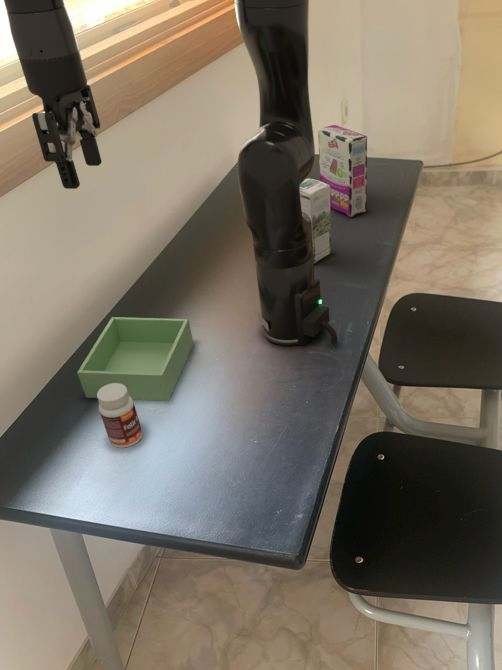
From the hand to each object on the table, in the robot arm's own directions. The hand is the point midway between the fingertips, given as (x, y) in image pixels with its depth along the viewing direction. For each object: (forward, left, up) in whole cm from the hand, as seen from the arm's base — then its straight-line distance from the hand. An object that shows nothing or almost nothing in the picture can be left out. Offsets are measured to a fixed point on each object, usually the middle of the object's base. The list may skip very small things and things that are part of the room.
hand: (83, 175), depth 95 cm
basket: (-8, +6, -28) cm, 30 cm away
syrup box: (-14, -39, -28) cm, 50 cm away
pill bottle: (-17, +20, -28) cm, 38 cm away
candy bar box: (-9, -62, -28) cm, 69 cm away
